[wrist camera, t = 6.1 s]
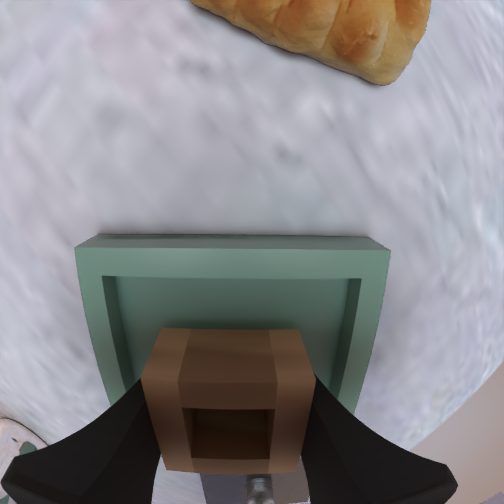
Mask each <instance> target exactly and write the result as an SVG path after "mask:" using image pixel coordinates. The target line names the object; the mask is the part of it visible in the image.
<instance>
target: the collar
mask: <svg viewBox="0 0 504 504" xmlns="http://www.w3.org/2000/svg"><path fill="white" fill-rule="evenodd" d="M140 378H141V382H142V386H143V391H144V395H145V399H146V403H147V407H148V410H149V414H150V418H151V421H152V425H153V428H154V432H155V435H156V439H157V442H158V445H159V448H160V451H161V455H162V458H163V461H164V464H165V467H166V470H172V471H182V472H194V473H211V474H268V473H285V472H296V471H297V467H298V463H299V459H300V455H301V451H302V447H303V442H304V438H305V433H306V429H307V424H308V419H309V414H310V410H311V405H312V399H313V394H314V389H315V383H316V378H315V375H314V372H313V370H312V367H311V364H310V361H309V358H308V355H307V352H306V349H305V346H304V343H303V341H302V338H301V335H300V332H299V329H271V330H227V329H187V328H165V327H162V328H161V330H160V333H159V335H158V337H157V339H156V342H155V344H154V346H153V349H152V351H151V353H150V356H149V358H148V361H147V363H146V365H145V368H144V370H143V373H142V375H141V377H140Z"/></svg>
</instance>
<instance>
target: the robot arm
mask: <svg viewBox="0 0 504 504" xmlns="http://www.w3.org/2000/svg"><path fill="white" fill-rule="evenodd" d="M314 375H315V378H316V383H315V389H314V394H313V399H312V405H311V410H310V414H309V419H308V424H307V429H306V433H305V438H304V442H303V447H302V451H301V459H302V462H303V466H304V470H305V473H306V477H307V482H308V488H309V495H310V502H311V504H445V503H446V502H447V501H448V499H450V498H451V496H452V495H453V494H454V493H455V492H456V489H457V487H458V484H457V482H456V480H455V478H454V476H453V475H452V473H451V471H450V469H449V468H448V467H447V465H445V464H442V463H439V462H435V461H432V460H429V459H426V458H423V457H421V456H418V455H416V454H414V453H411V452H409V451H407V450H405V449H403V448H401V447H399V446H397V445H395V444H393V443H391V442H390V441H388V440H386V439H384V438H383V437H381V436H380V435H378V434H377V433H375V432H374V431H373V430H371V429H370V428H368V427H367V426H366V425H364V424H363V423H362V422H361V421H359V420H358V419H357V418H356V417H355V416H354V415H353V414H352V413H350V412H349V411H348V410H347V409H346V408H345V407H344V406H343V405H342V404H341V403H340V402H339V401H338V400H337V399H336V398H335V397H334V395H333V394H332V393H331V392H330V391H329V390H328V389H327V388H326V386H325V385H324V384H323V383H322V382H321V381H320V379H319V378H318V377H317V376H316V374H315V373H314ZM160 455H161V451H160V448H159V445H158V442H157V439H156V435H155V432H154V428H153V425H152V421H151V418H150V414H149V410H148V407H147V403H146V399H145V395H144V391H143V386H142V382H141V378H139V379H138V380H137V382H136V383H135V384H134V385H133V386H132V387H131V388H130V389H129V390H128V391H127V392H126V393H125V394H124V395H123V396H122V397H121V398H120V399H119V400H118V401H117V402H115V403H114V404H113V405H112V406H111V407H110V408H109V409H107V410H106V411H105V412H104V413H103V414H102V415H100V416H99V417H98V418H97V419H95V420H94V421H93V422H91V423H90V424H88V425H87V426H85V427H84V428H82V429H81V430H79V431H77V432H75V433H74V434H72V435H70V436H68V437H66V438H65V439H63V440H61V441H58V442H56V443H54V444H52V445H49V446H47V447H44V448H42V449H39V450H36V451H33V452H30V453H26V454H23V455H19V456H15V457H14V458H13V460H12V461H11V463H10V465H9V467H8V468H7V470H6V472H5V474H4V475H3V477H2V479H1V482H0V483H1V486H2V488H3V489H4V491H5V492H6V493H7V494H8V495H9V496H10V497H11V498H12V499H13V500H14V501H15V502H16V503H17V504H151V501H152V493H153V485H154V479H155V474H156V470H157V466H158V463H159V459H160ZM481 504H504V494H503V493H502V492H498V493H497V494H495V495H494V496H492V497H490V498H489V499H487V500H485V501H484V502H482V503H481Z"/></svg>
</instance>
